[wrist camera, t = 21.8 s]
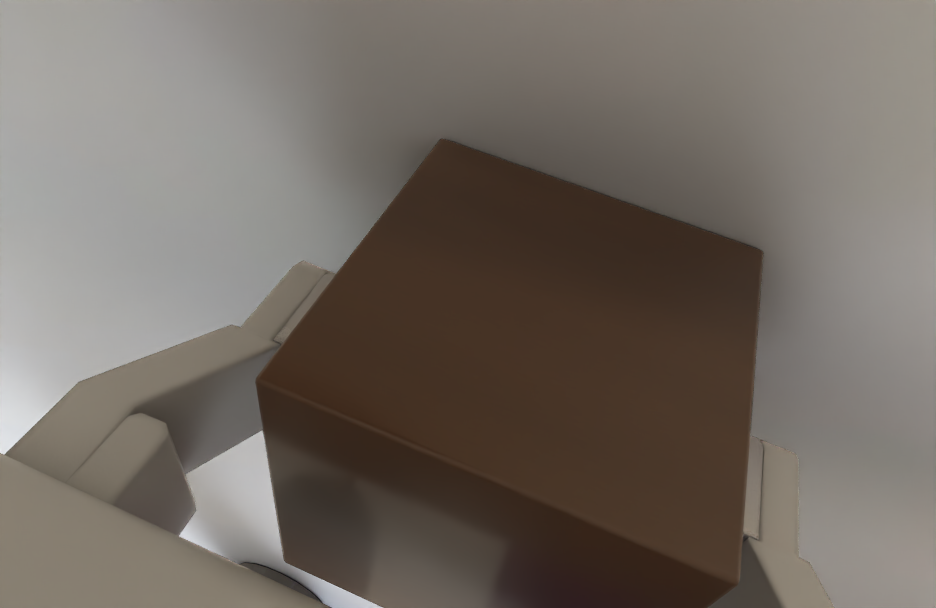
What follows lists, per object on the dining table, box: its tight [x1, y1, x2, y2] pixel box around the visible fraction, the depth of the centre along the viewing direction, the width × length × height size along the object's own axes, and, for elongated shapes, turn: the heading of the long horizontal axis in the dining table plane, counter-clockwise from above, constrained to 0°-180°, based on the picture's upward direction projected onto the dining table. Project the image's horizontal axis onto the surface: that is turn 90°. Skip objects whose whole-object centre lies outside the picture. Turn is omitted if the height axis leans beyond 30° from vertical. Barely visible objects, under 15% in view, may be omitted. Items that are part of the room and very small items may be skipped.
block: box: [255, 139, 763, 608], centre depth 10 cm, size 5×5×5 cm
